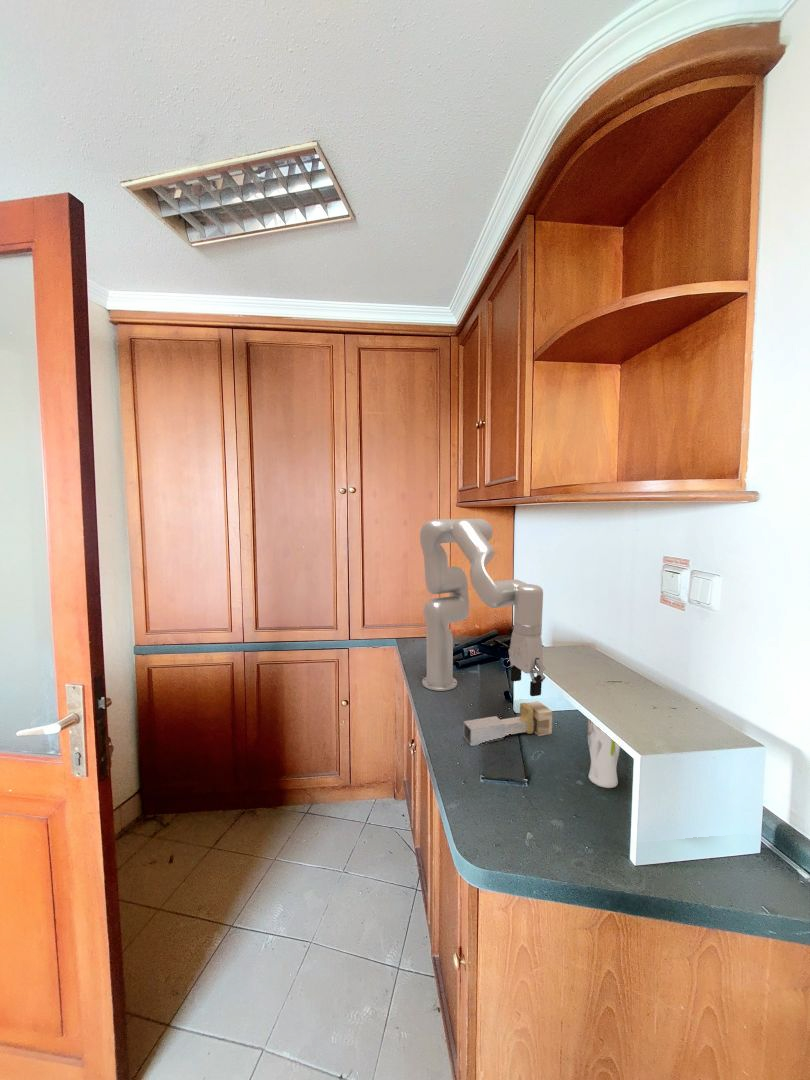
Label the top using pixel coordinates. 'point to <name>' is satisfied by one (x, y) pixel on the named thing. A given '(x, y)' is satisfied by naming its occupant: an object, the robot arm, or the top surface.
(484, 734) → the sleeve
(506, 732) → the beige and yellow bar
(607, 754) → the beer glass
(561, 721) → the top surface
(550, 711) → the socket block
